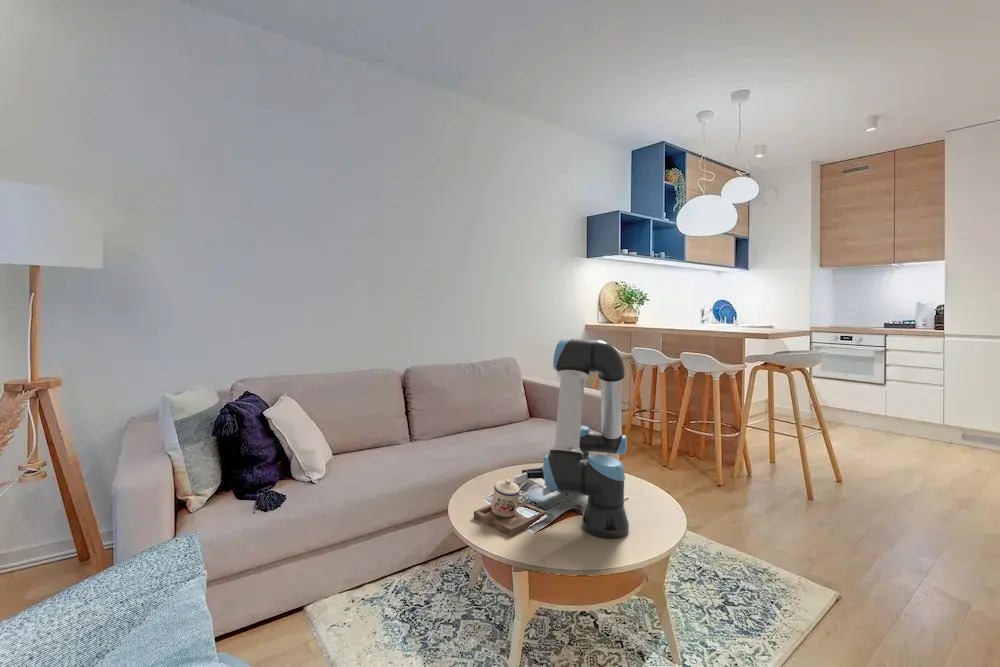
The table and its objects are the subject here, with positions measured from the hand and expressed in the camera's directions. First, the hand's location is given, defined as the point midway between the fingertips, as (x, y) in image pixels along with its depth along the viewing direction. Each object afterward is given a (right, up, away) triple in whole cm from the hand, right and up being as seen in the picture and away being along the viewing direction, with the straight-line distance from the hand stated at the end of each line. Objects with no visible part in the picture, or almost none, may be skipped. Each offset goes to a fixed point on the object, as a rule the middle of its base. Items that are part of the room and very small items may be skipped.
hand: (528, 486), depth 168 cm
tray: (-7, -9, -6) cm, 13 cm away
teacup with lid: (-8, -8, -3) cm, 12 cm away
